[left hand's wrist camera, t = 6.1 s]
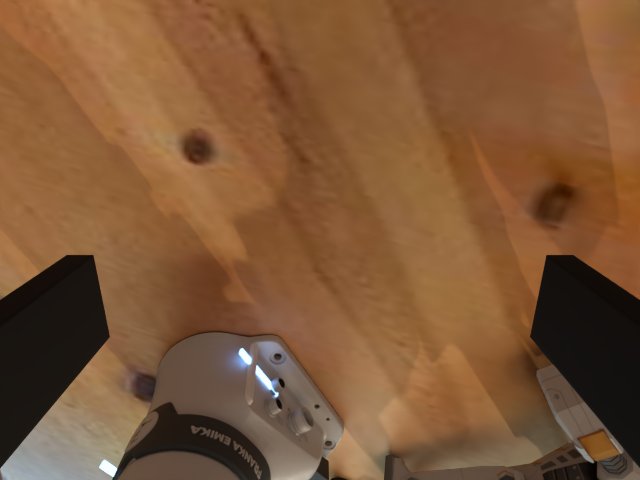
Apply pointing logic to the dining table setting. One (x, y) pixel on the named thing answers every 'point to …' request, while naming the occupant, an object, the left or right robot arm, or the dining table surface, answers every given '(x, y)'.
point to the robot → (558, 466)
